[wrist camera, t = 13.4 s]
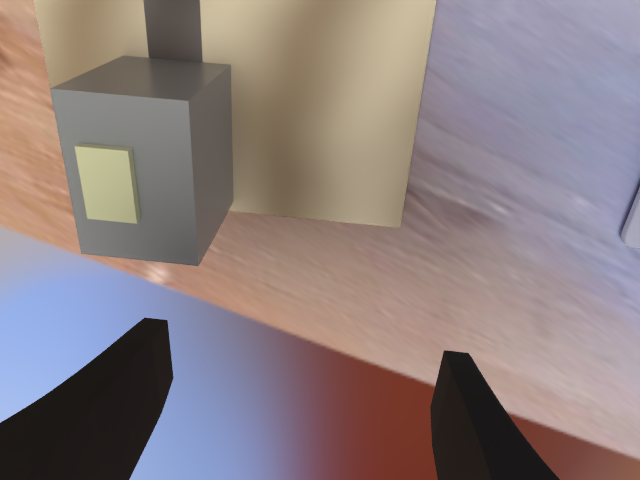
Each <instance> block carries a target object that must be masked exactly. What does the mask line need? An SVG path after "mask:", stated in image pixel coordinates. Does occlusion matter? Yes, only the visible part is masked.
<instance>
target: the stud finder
mask: <svg viewBox="0 0 640 480" xmlns="http://www.w3.org/2000/svg"><path fill="white" fill-rule="evenodd" d="M50 91H51V97H52V102H53V107H54V112H55V118H56V123H57V128H58V133H59V139H60V144H61V149H62V154H63V160H64V165H65V170H66V175H67V181H68V186H69V191H70V196H71V202H72V207H73V212H74V217H75V223H76V228H77V233H78V238H79V244H80V249H81V254H88V255H98V256H108V257H117V258H127V259H137V260H146V261H156V262H165V263H175V264H185V265H194V266H199V264H200V262H201V260H202V259H203V257H204V255H205V253H206V251H207V249H208V248H209V246H210V244H211V242H212V240H213V238H214V237H215V235H216V233H217V231H218V229H219V227H220V225H221V224H222V222H223V220H224V218H225V216H226V214H227V213H228V211H229V209H230V207H231V205H232V203H233V202H234V200H233V151H232V102H231V65H229V64H217V63H205V62H194V61H182V60H170V59H158V58H147V57H135V56H121V57H119V58H116V59H114V60H112V61H110V62H108V63H105V64H103V65H101V66H99V67H97V68H94V69H92V70H90V71H88V72H86V73H83V74H81V75H79V76H77V77H74V78H72V79H70V80H68V81H66V82H63V83H61V84H59V85H57V86H55V87H52V88H50Z"/></svg>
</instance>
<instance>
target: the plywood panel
mask: <svg viewBox="0 0 640 480" xmlns="http://www.w3.org/2000/svg"><path fill="white" fill-rule="evenodd" d="M34 6H35V11H36V16H37V21H38V27H39V32H40V37H41V43H42V48H43V53H44V58H45V64H46V69H47V74H48V79H49V85H50V88H52V87H55V86H57V85H59V84H61V83H63V82H66V81H68V80H70V79H72V78H74V77H77V76H79V75H81V74H83V73H86V72H88V71H90V70H92V69H94V68H97V67H99V66H101V65H103V64H105V63H108V62H110V61H112V60H114V59H116V58H119V57H121V56H135V57H147V58H158V59H170V60H182V61H194V62H205V63H217V64H229V65H231V102H232V151H233V200H234V202H233V203H232V205H231V207H230V209H229V211H233V212H243V213H253V214H263V215H273V216H283V217H293V218H304V219H314V220H324V221H334V222H344V223H354V224H364V225H374V226H385V227H395V228H400V226H401V220H402V213H403V207H404V201H405V195H406V188H407V182H408V176H409V169H410V163H411V157H412V151H413V144H414V138H415V132H416V125H417V119H418V113H419V107H420V100H421V94H422V88H423V81H424V75H425V69H426V63H427V56H428V50H429V44H430V37H431V31H432V25H433V19H434V12H435V6H436V0H34Z"/></svg>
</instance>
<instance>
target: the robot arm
mask: <svg viewBox="0 0 640 480" xmlns="http://www.w3.org/2000/svg"><path fill="white" fill-rule="evenodd" d="M621 239H622V241H623V242H624V243H625V244H626V245H627V246H628V247H630V248H636V249H640V188H639V190H638V193H637V195H636V198H635V200H634V203H633V205H632V208H631V210H630V213H629V215H628V218H627V220H626V223H625V225H624V228H623V230H622V233H621ZM172 380H173V371H172V361H171V352H170V342H169V332H168V323H167V320H160V319H151V318H144V319H142V320H141V321H140V322H139V323H137V324H136V325H135V326H134V327H132V328H131V329H130V330H129V331H128V332H126V333H125V334H124V335H123V336H122V337H120V338H119V339H118V340H117V341H116V342H114V343H113V344H112V345H111V346H110V347H108V348H107V349H106V350H105V351H103V352H102V353H101V354H100V355H98V356H97V357H96V358H95V359H93V360H92V361H91V362H90V363H88V364H87V365H86V366H84V367H83V368H82V369H81V370H79V371H78V372H77V373H75V374H74V375H73V376H71V377H70V378H69V379H67V380H66V381H64V382H63V383H62V384H60V385H59V386H57V387H56V388H55V389H53V390H52V391H50V392H49V393H48V394H46V395H45V396H43V397H42V398H40V399H39V400H37V401H35V402H34V403H32V404H31V405H29V406H28V407H26V408H24V409H23V410H21V411H19V412H18V413H16V414H14V415H13V416H11V417H10V418H8V419H6V420H4V421H2V422H1V423H0V480H129V479H130V477H131V475H132V473H133V471H134V469H135V467H136V464H137V462H138V460H139V458H140V456H141V454H142V452H143V450H144V448H145V446H146V444H147V442H148V440H149V438H150V436H151V434H152V432H153V430H154V428H155V425H156V424H157V421H158V419H159V417H160V415H161V413H162V410H163V407H164V404H165V401H166V399H167V395H168V392H169V389H170V386H171V383H172ZM431 430H432V446H433V453H434V459H435V465H436V471H437V477H438V480H560V479H559V478H558V477H557V476H556V475H555V474H554V473H553V472H552V471H551V469H550V468H549V467H548V466H547V465H546V463H545V462H544V461H543V460H542V459H541V458H540V456H539V455H538V454H537V453H536V451H535V450H534V449H533V448H532V446H531V445H530V444H529V442H528V441H527V440H526V438H525V437H524V436H523V434H522V433H521V432H520V430H519V429H518V428H517V427H516V425H515V424H514V422H513V421H512V419H511V418H510V416H509V415H508V414H507V412H506V411H505V409H504V408H503V406H502V405H501V404H500V402H499V401H498V399H497V398H496V396H495V394H494V393H493V391H492V390H491V388H490V387H489V385H488V384H487V382H486V380H485V379H484V377H483V375H482V374H481V372H480V371H479V369H478V367H477V366H476V364H475V362H474V361H473V359H472V357H471V356H470V355H469V353H463V352H454V351H444V353H443V357H442V361H441V365H440V370H439V374H438V378H437V382H436V386H435V391H434V395H433V399H432V403H431Z"/></svg>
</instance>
